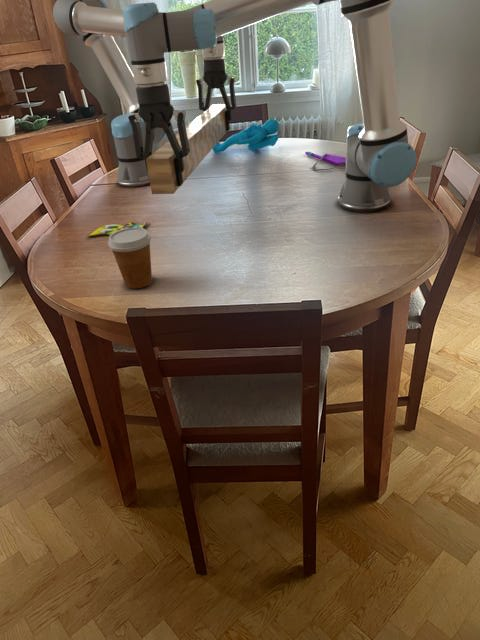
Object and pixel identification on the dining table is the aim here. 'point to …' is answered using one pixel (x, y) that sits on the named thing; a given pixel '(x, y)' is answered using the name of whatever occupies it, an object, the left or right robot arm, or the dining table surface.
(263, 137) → the toy
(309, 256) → the dining table surface
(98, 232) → the toy
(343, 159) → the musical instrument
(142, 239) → the disposable coffee cup
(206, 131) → the post
